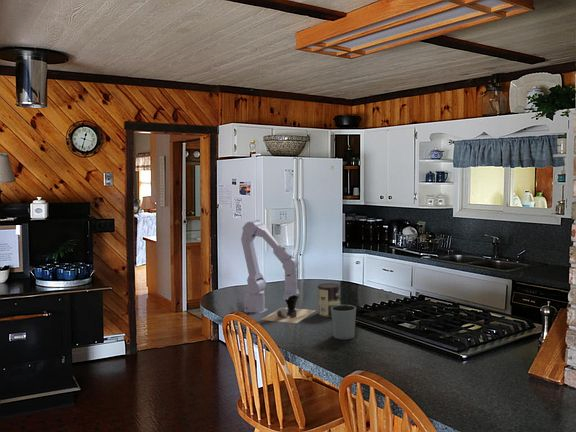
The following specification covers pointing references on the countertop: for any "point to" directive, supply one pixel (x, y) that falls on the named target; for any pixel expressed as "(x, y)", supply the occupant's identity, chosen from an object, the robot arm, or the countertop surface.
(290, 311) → the c ring
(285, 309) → the piston post
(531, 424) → the countertop surface
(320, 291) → the coffee can
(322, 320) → the countertop surface
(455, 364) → the countertop surface
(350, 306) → the grey cup
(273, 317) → the board
